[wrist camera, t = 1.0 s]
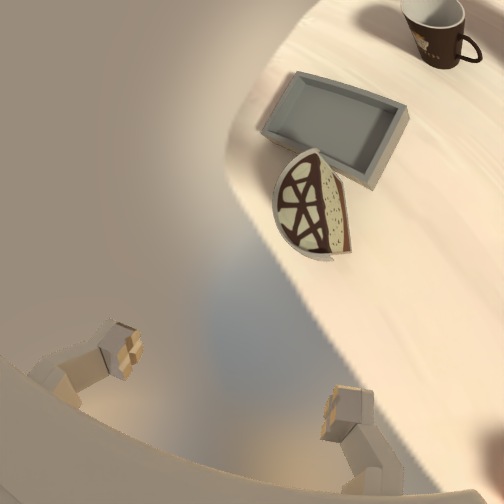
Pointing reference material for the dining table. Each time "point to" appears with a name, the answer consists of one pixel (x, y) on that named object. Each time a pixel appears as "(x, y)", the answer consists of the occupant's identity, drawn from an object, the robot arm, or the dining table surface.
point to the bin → (338, 125)
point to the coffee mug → (438, 31)
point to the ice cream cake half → (312, 208)
